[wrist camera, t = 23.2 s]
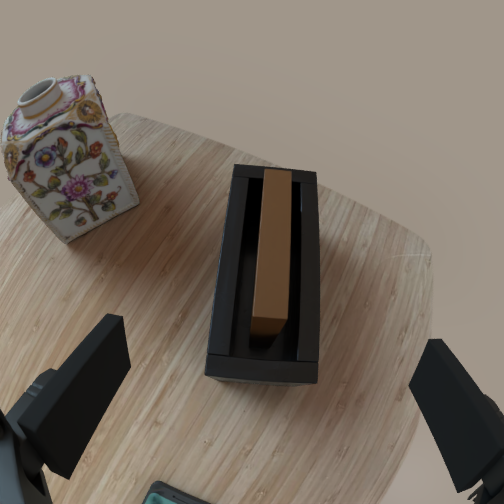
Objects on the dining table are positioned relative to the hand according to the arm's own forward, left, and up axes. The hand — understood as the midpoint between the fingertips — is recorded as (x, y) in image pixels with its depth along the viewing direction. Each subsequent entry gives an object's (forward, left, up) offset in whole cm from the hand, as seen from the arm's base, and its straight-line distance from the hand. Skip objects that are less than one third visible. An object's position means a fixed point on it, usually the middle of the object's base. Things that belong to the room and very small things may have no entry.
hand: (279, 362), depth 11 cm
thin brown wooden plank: (+8, +1, -16) cm, 18 cm away
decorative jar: (+18, +25, -17) cm, 35 cm away
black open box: (+8, +1, -17) cm, 19 cm away
